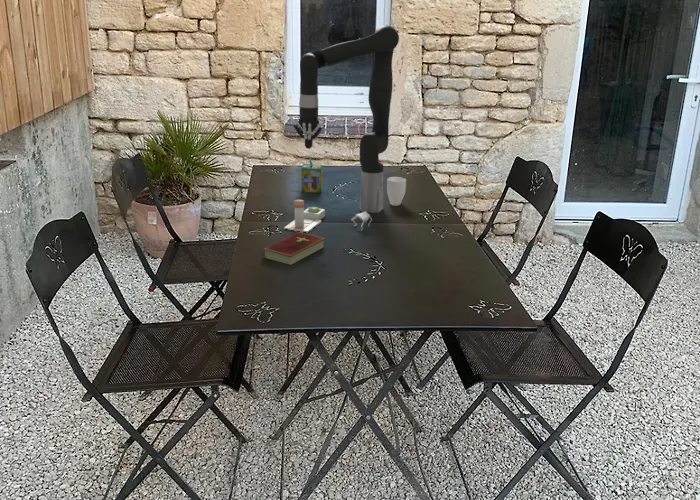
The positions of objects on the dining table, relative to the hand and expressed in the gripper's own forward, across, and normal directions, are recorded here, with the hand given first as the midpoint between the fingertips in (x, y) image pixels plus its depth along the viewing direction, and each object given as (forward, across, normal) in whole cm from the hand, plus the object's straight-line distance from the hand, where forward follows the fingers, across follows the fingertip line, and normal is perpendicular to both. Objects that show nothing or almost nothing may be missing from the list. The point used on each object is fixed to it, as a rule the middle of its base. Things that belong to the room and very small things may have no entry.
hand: (308, 148), depth 273 cm
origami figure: (+27, -28, +10) cm, 40 cm away
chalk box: (+27, +10, -28) cm, 40 cm away
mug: (+27, -31, -26) cm, 49 cm away
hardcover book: (+28, -14, +46) cm, 55 cm away
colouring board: (+27, -6, +19) cm, 33 cm away
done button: (+26, -6, +8) cm, 28 cm away
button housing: (+27, -6, +8) cm, 29 cm away
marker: (+26, -6, +22) cm, 35 cm away
